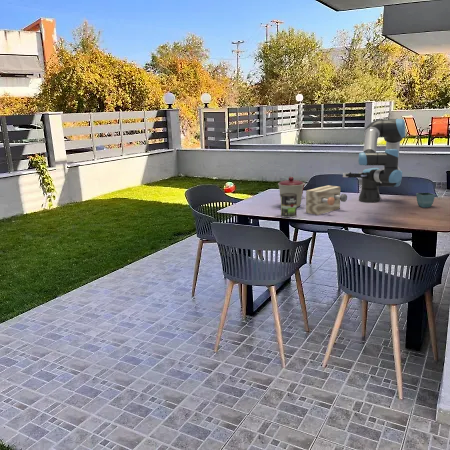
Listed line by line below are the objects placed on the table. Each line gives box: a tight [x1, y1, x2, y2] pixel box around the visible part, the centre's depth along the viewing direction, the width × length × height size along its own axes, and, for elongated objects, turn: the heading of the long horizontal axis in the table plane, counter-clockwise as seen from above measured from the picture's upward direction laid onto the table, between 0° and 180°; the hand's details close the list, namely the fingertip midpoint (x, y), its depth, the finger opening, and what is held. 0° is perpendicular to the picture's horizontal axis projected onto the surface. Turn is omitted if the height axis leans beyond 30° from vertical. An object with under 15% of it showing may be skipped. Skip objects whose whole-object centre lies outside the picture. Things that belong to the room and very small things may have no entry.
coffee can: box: [280, 193, 298, 218], centre depth 292 cm, size 10×10×14 cm
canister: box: [277, 176, 305, 208], centre depth 317 cm, size 18×18×21 cm
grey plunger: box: [334, 193, 348, 203], centre depth 302 cm, size 12×5×5 cm, turn 42°
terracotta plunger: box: [321, 197, 335, 205], centre depth 293 cm, size 12×5×5 cm, turn 42°
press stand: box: [305, 184, 342, 216], centre depth 302 cm, size 10×24×15 cm, turn 132°
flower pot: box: [415, 192, 436, 209], centre depth 303 cm, size 9×9×9 cm
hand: (350, 174), depth 291 cm, fingers open, 13 cm apart
